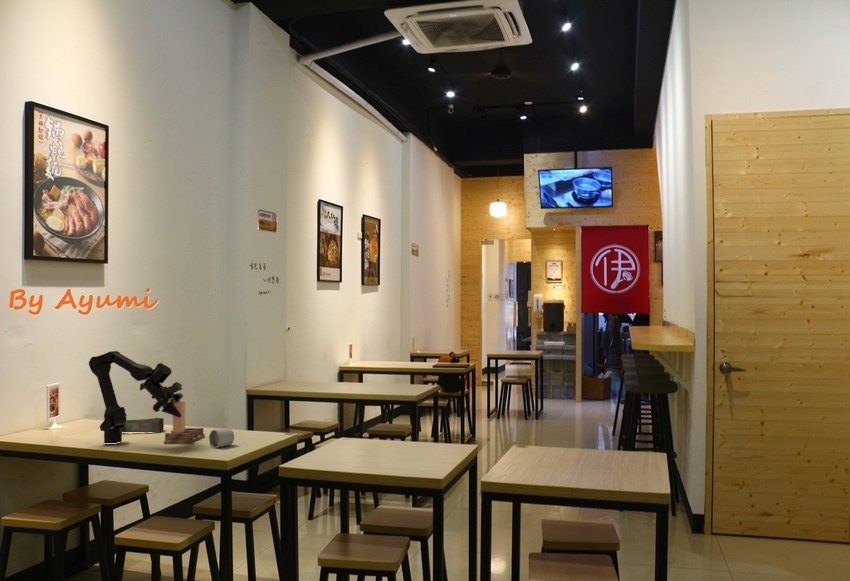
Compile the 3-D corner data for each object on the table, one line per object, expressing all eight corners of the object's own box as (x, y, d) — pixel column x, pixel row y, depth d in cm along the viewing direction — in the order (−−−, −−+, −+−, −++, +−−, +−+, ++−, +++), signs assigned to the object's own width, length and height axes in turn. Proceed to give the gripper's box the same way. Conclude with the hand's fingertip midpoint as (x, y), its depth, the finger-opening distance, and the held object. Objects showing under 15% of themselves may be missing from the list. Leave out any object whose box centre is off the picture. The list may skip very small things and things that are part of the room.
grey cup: (235, 445, 294) (235, 427, 294) (219, 449, 287) (218, 430, 288) (220, 443, 300) (220, 425, 301) (204, 446, 294) (203, 428, 294)
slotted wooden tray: (163, 443, 301) (163, 434, 301) (179, 436, 317) (178, 427, 317) (190, 443, 300) (190, 434, 300) (204, 436, 316) (204, 427, 316)
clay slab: (173, 432, 293) (172, 402, 293) (176, 430, 296) (175, 401, 296) (182, 432, 293) (182, 402, 293) (185, 430, 296) (184, 401, 296)
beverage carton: (122, 432, 333) (122, 418, 333) (164, 430, 335) (164, 416, 335) (117, 435, 325) (117, 421, 325) (160, 433, 327) (160, 419, 328)
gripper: (160, 379, 286) (186, 405, 285) (178, 374, 305) (203, 399, 304) (141, 398, 286) (167, 425, 285) (161, 392, 305) (186, 417, 304)
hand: (182, 416), depth 295 cm, fingers closed on clay slab, 3 cm apart
